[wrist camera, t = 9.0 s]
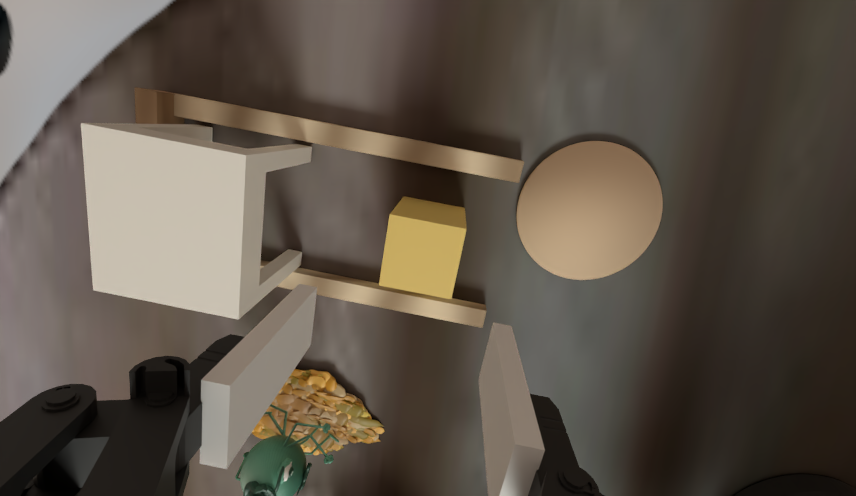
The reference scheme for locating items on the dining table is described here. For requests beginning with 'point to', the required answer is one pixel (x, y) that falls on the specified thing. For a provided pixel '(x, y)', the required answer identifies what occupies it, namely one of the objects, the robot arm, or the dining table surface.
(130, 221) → the cover
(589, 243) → the mat
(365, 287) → the track
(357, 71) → the dining table surface
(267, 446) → the green toy figure
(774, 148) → the dining table surface
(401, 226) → the block
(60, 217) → the dining table surface
